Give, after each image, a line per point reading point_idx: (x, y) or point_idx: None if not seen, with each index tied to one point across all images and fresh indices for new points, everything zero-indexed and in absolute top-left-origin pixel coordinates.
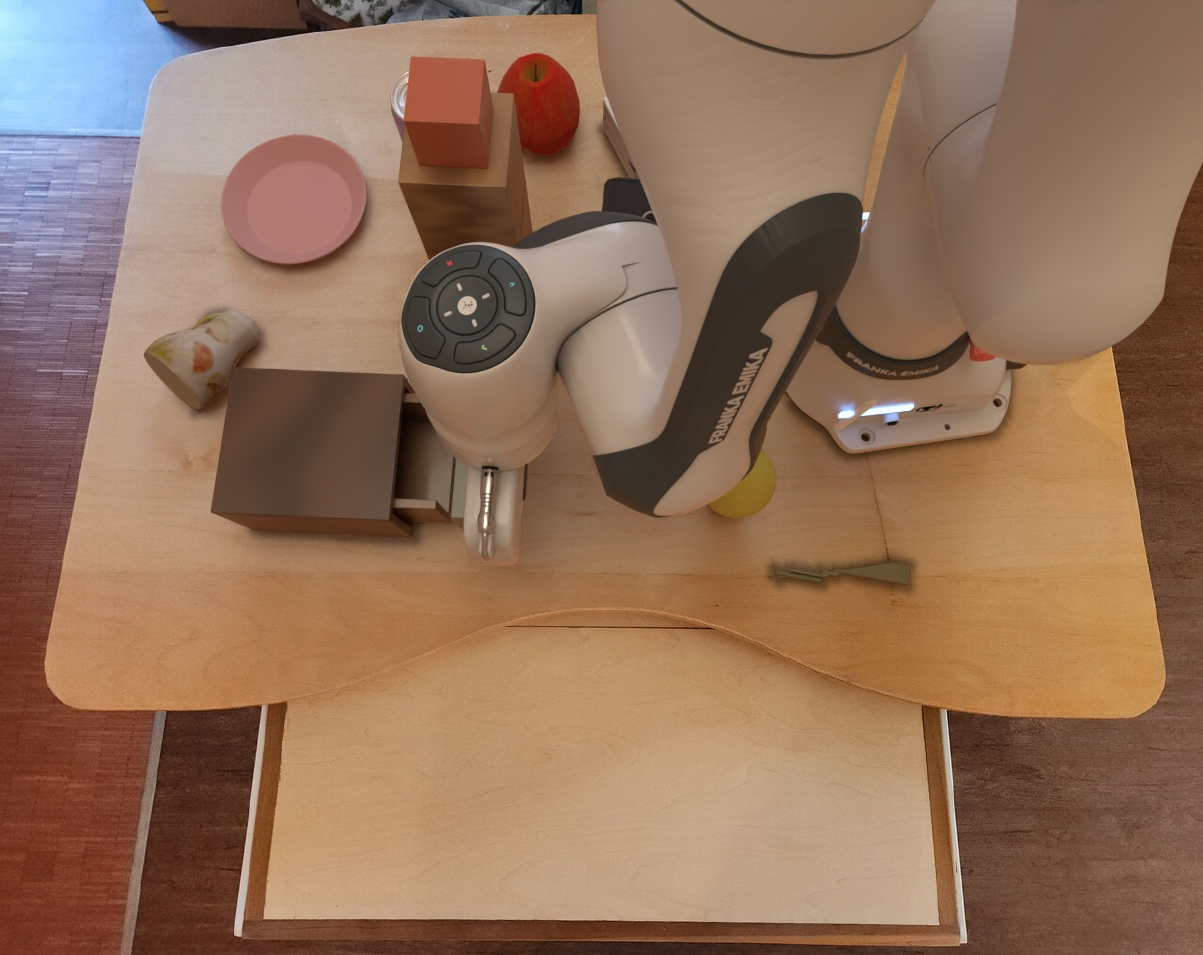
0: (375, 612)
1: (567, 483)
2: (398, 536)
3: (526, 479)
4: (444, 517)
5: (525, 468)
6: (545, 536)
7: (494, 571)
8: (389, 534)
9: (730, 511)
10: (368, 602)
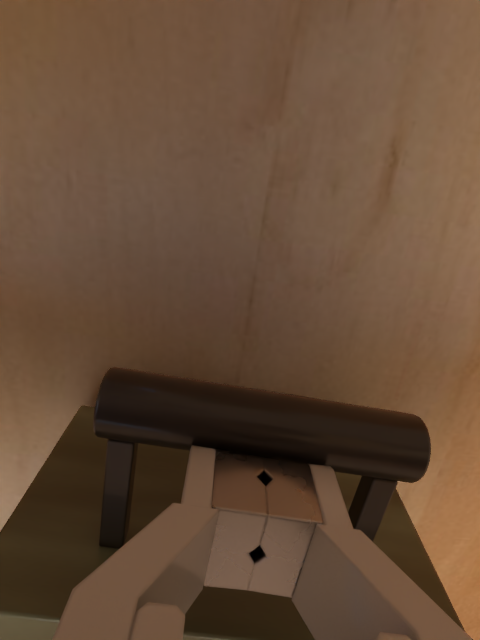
0: (461, 596)
1: (291, 213)
2: None
3: (352, 417)
4: None
5: (310, 421)
6: (419, 290)
7: (462, 410)
8: None
9: None
10: None
